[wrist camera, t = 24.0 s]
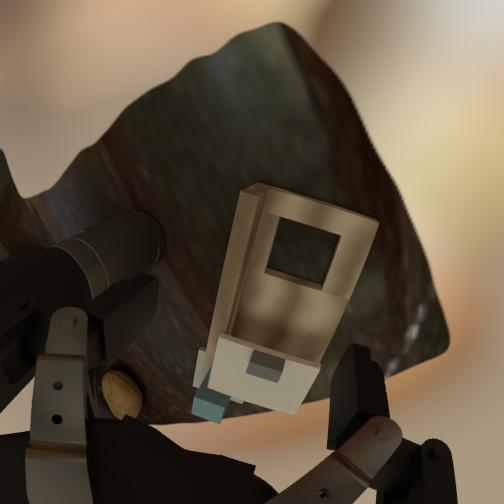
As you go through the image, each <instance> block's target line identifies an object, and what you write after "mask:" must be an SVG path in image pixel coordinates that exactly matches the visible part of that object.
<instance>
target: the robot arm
mask: <svg viewBox="0 0 504 504" xmlns="http://www.w3.org/2000/svg"><path fill="white" fill-rule="evenodd" d="M165 245H166V242H165V236H164V233H163V230H162V228H161V226H160V225H159V223H158V222H157V221H156V220H155V219H154V218H153V217H152V216H151V215H149V214H147V213H145V212H142V211H134V212H130V213H128V214H125V215H122V214H120V215H117V216H115V217H112V218H110V219H107V220H105V221H102V222H100V223H97V224H95V225H93V226H90V227H88V228H85V229H83V230H82V231H81V233H80V234H77V235H75V236H73V237H71V238H68V239H66V240H64V241H62V242H60V243H58V244H56V245H53V246H51V247H49V248H47V249H44V250H26V251H23V252H20V253H18V254H15V255H13V256H10V257H8V258H6V259H3V260H1V261H0V413H1V412H2V411H3V410H4V409H5V408H6V406H7V405H8V404H9V403H10V402H11V401H12V400H13V399H14V398H15V397H16V396H17V395H18V394H19V393H20V391H21V390H22V389H23V388H24V387H25V386H26V385H27V384H28V383H29V382H30V381H31V380H32V379H33V378H34V377H35V381H34V388H33V398H32V409H31V425H30V431H25V432H18V433H12V434H4V435H0V504H353V503H354V502H355V501H356V499H358V497H359V496H360V495H361V494H362V493H363V492H364V491H365V490H366V489H367V488H368V487H370V488H372V489H374V490H377V495H376V504H458V501H457V490H456V483H455V473H454V466H453V459H452V454H451V451H450V449H449V447H448V446H447V445H446V444H445V443H444V442H443V441H441V440H438V439H433V438H432V439H428V440H426V441H425V442H424V443H423V444H422V445H419V444H416V443H414V442H411V441H409V440H407V439H405V438H403V437H402V431H401V429H400V427H399V426H398V424H397V423H396V422H395V421H393V420H392V419H390V414H389V406H388V400H387V393H386V386H385V383H384V382H385V380H384V374H383V371H382V369H381V368H380V366H379V365H378V363H377V362H374V361H372V360H371V354H370V348H369V347H366V346H362V345H359V344H355V343H350V344H349V346H348V348H347V350H346V351H345V353H344V355H343V357H342V359H341V361H340V362H339V364H338V366H337V368H336V370H335V372H334V374H333V377H332V380H331V391H330V412H329V426H328V439H327V449H329V450H335V451H334V452H333V453H331V454H330V455H329V456H328V457H327V458H325V459H324V460H323V461H322V462H320V463H319V464H318V465H317V466H316V467H314V468H313V469H312V470H310V471H309V472H308V473H307V474H305V475H304V476H303V477H301V478H300V479H299V480H298V481H296V482H295V483H293V484H292V485H290V486H289V487H288V488H286V489H285V490H283V491H282V492H281V493H279V494H278V492H277V491H276V490H275V489H274V488H273V487H272V486H271V485H269V484H268V483H267V482H266V481H264V480H263V479H261V478H260V477H258V476H256V475H254V471H255V467H256V466H255V465H252V464H248V463H245V462H242V461H238V460H235V459H232V458H229V457H226V456H223V455H216V454H208V453H202V452H195V451H190V450H186V449H183V448H182V447H180V446H179V445H177V444H176V443H174V442H173V441H172V440H170V439H169V438H168V437H166V436H165V435H163V434H162V433H161V432H159V431H158V430H157V429H156V428H153V427H151V426H149V425H147V424H145V423H143V422H141V421H139V420H137V419H135V418H133V417H131V416H130V415H128V414H125V416H124V417H123V418H122V420H121V421H119V420H115V419H109V418H99V417H98V411H97V402H96V385H95V369H94V367H95V366H96V365H97V364H98V363H100V364H101V365H103V366H105V367H107V368H109V367H110V366H111V365H112V364H113V363H114V361H115V360H116V359H117V358H118V357H119V356H120V355H121V354H122V353H123V352H124V351H125V350H126V349H127V348H128V347H129V345H130V344H131V343H132V342H133V341H134V340H135V339H136V338H137V337H138V336H139V335H140V334H141V333H142V332H143V331H144V330H145V329H146V327H147V326H148V325H149V324H150V323H151V322H152V321H153V319H154V317H155V314H156V311H157V300H158V288H159V280H158V278H156V277H154V276H151V275H149V274H146V273H145V272H146V271H148V270H149V269H150V268H152V267H153V266H154V265H156V264H157V263H159V261H160V260H161V259H162V257H163V255H164V252H165Z"/></svg>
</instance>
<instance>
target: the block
mask: <svg viewBox="0 0 504 504" xmlns="http://www.w3.org/2000/svg"><path fill="white" fill-rule="evenodd" d="M211 369H212V366H211V367H210V369H209V371H208V372H207V374H206V376H205V378H204V380H203V382H202V383H201V385H200V387H199V389H198V391H197V393H196V395H195V396H194V402H193V407H192V414H194V415H197V416H199V417H202V418H204V419H207V420H210V421H212V422H215V423H218V424H220V422H221V420H222V418H223V415H224V413H225V410H226V408H227V406H228V403H229V401H230V398H231V396H229V395H226V394H223V393H220V392H218V391H215V390H212V389H210V388H208V383H209V378H210V374H211Z"/></svg>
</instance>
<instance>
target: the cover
mask: <svg viewBox="0 0 504 504" xmlns="http://www.w3.org/2000/svg"><path fill="white" fill-rule="evenodd" d="M320 368H321V364H319V363H315V362H312V361H308V360H305V359H301V358H298V357H295V356H291V355H288V354H285V353H281V352H278V351H275V350H272V349H268V348H265V347H262V346H259V345H256V344H253V343H250V342H247V341H244V340H241V339H238V338H235V337H233V336H230V335H227V334H224V333H221V334H220V336H219V338H218V342H217V347H216V351H215V356H214V360H213V365H212V369H211V374H210V378H209V383H208V388H210V389H212V390H215V391H218V392H220V393H223V394H226V395H229V396H232V397H235V398H238V399H241V400H244V401H247V402H250V403H253V404H256V405H259V406H263V407H266V408H269V409H273V410H276V411H280V412H284V413H287V414H291V415H295V413H296V412H297V410H298V408H299V407H300V405H301V403H302V401H303V400H304V398H305V396H306V394H307V393H308V391H309V389H310V387H311V386H312V384H313V382H314V380H315V378H316V376H317V375H318V373H319V371H320Z"/></svg>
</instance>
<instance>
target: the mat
mask: <svg viewBox="0 0 504 504" xmlns="http://www.w3.org/2000/svg"><path fill="white" fill-rule="evenodd" d="M206 349H207V348H204V347H200V349H199V352H198V358H197V364H196V370H195V376H194V382H193V386H194V387H197V388H199V387H200V385H201V383H202V382H203V380H204V378H205V376H206V374H207V372H208V371H209V369H210V367H211V365H208V364H205V363H204V360H205V354H206ZM230 400H232V401H235V402H238V403H241V404H243V401H244V400H241V399H238V398H235V397H232V396H231V398H230Z"/></svg>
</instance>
